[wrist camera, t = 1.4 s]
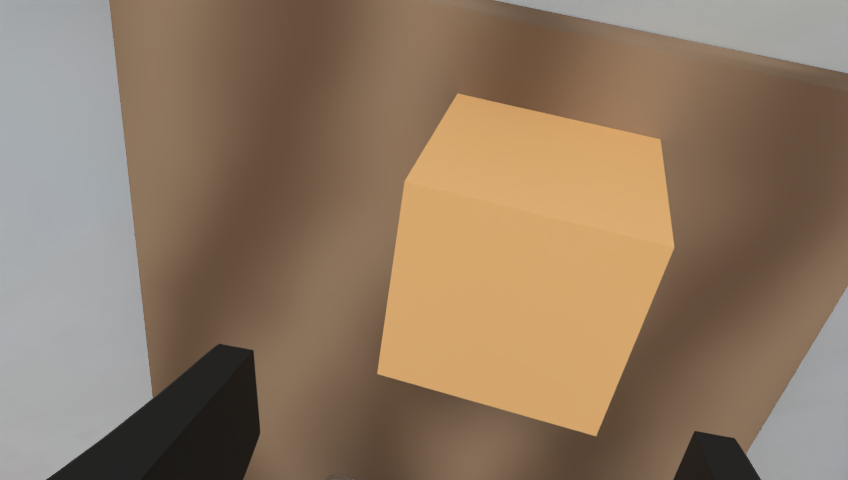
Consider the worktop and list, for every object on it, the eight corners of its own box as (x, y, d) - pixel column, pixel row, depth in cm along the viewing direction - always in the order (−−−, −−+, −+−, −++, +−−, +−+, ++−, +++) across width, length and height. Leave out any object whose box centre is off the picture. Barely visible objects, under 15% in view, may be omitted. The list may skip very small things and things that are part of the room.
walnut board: (925, 89, 16) (952, 112, 14) (611, 640, 29) (610, 676, 28) (137, -74, 18) (102, -66, 17) (185, 503, 32) (167, 530, 31)
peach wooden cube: (660, 139, 16) (674, 247, 12) (601, 302, 19) (596, 436, 15) (457, 93, 17) (404, 181, 13) (428, 257, 20) (377, 374, 15)
